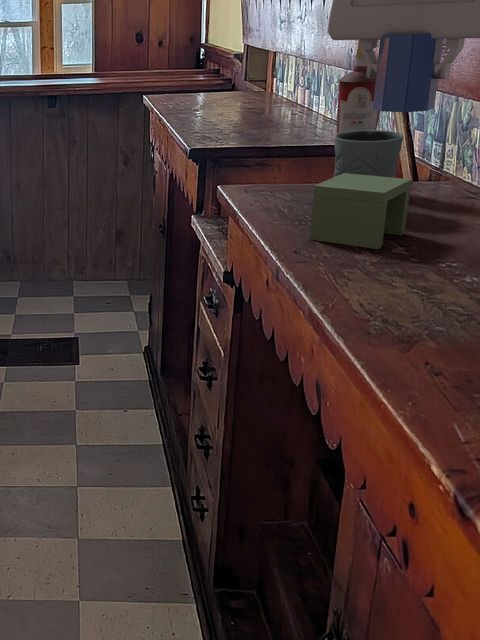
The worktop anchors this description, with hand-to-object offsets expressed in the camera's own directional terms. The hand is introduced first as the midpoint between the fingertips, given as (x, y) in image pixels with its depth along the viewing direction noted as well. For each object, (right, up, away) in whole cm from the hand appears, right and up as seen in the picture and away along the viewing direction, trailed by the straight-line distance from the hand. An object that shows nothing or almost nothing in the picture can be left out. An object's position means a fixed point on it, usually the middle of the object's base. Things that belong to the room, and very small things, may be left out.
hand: (407, 78), depth 107 cm
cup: (0, -3, +1) cm, 4 cm away
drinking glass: (+9, -10, +35) cm, 37 cm away
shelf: (+2, -17, +20) cm, 26 cm away
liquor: (+13, -4, +49) cm, 50 cm away
